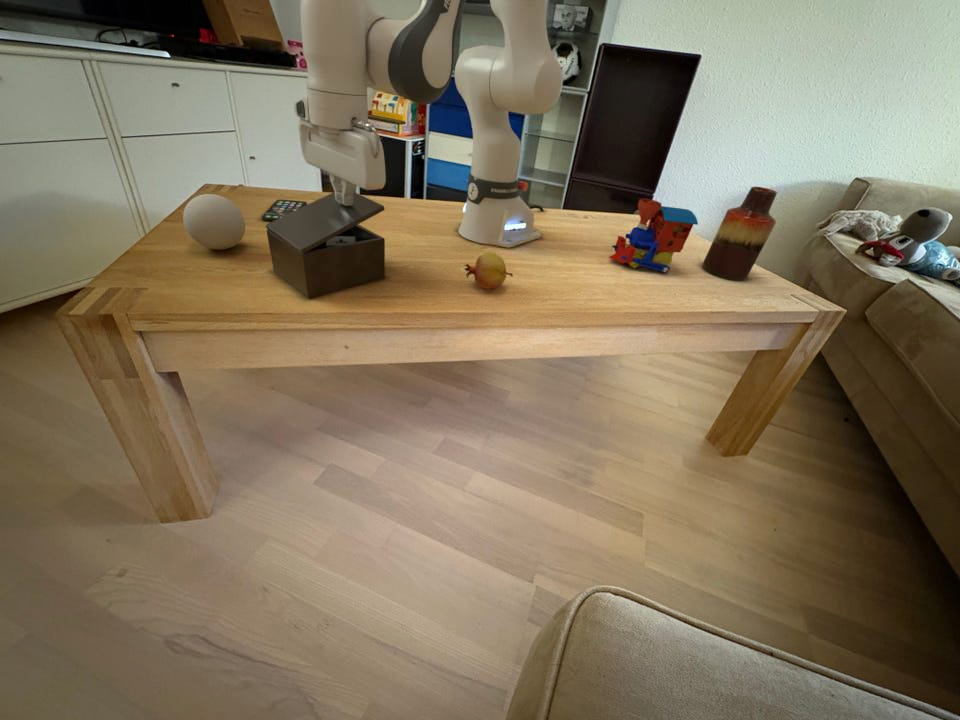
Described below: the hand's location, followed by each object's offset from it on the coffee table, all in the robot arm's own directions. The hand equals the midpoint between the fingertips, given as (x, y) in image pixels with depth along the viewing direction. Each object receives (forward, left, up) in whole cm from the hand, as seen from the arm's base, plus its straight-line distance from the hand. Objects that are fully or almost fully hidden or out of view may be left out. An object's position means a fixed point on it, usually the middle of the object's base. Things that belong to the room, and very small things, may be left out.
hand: (344, 203), depth 73 cm
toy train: (-65, +23, -13) cm, 70 cm away
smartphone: (0, -37, -13) cm, 39 cm away
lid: (+4, 0, -2) cm, 4 cm away
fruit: (-21, +17, -13) cm, 30 cm away
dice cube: (+1, -1, -12) cm, 12 cm away
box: (+4, 0, -13) cm, 13 cm away
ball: (+18, -19, -13) cm, 29 cm away
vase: (-85, +36, -13) cm, 93 cm away
